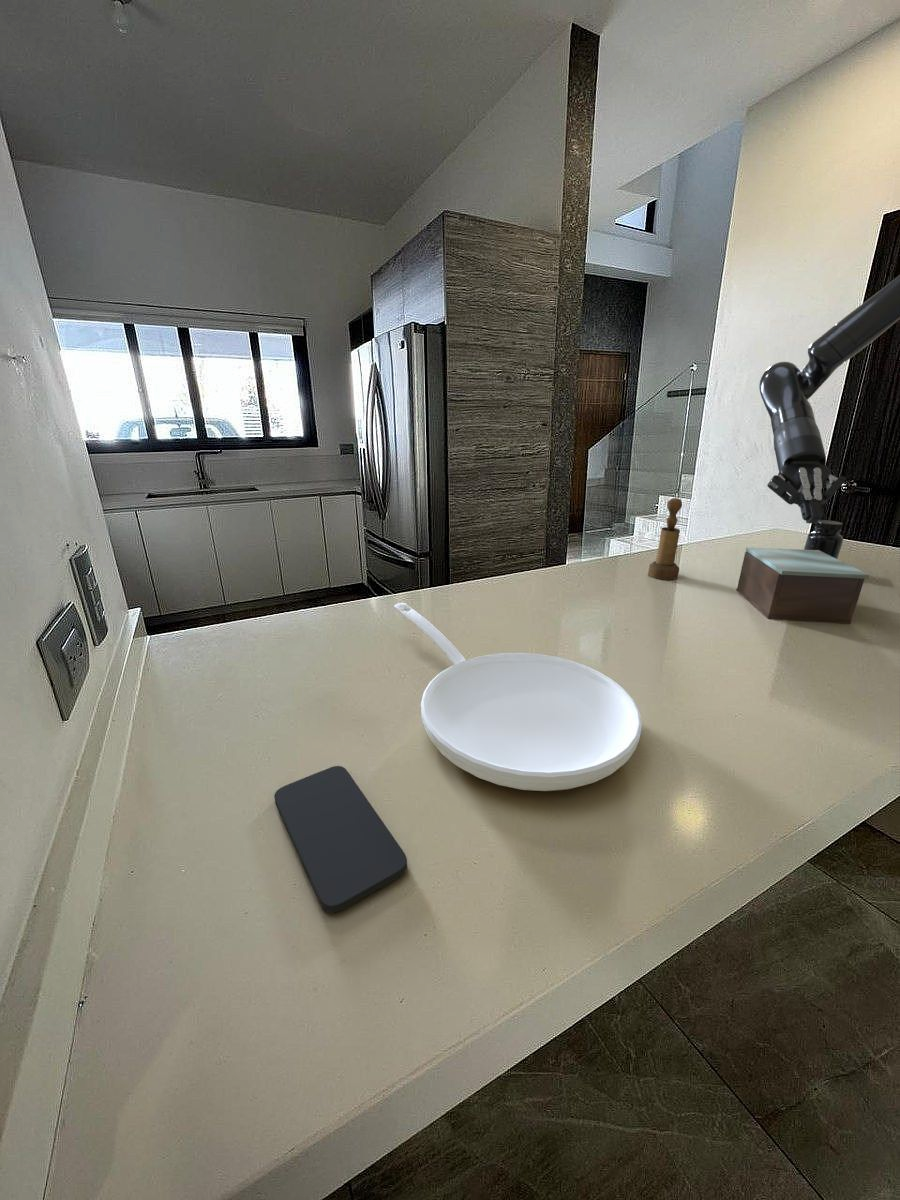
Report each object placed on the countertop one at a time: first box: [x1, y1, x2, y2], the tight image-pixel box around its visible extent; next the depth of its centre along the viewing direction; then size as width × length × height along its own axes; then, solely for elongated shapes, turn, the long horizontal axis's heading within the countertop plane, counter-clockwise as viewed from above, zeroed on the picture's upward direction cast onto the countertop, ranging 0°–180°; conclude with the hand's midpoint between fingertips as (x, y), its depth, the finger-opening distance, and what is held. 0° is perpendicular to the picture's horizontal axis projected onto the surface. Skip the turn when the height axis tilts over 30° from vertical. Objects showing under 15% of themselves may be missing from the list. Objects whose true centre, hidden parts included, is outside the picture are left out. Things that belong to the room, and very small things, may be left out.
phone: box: [273, 765, 408, 913], centre depth 43 cm, size 7×1×15 cm
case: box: [736, 550, 865, 624], centre depth 93 cm, size 16×14×9 cm
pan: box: [392, 602, 643, 792], centre depth 63 cm, size 25×44×6 cm, turn 34°
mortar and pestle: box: [647, 497, 683, 581], centre depth 109 cm, size 7×6×18 cm
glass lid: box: [745, 547, 870, 580], centre depth 91 cm, size 16×14×1 cm
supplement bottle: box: [803, 519, 844, 559], centre depth 113 cm, size 7×7×12 cm
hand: (814, 520), depth 88 cm, fingers closed
